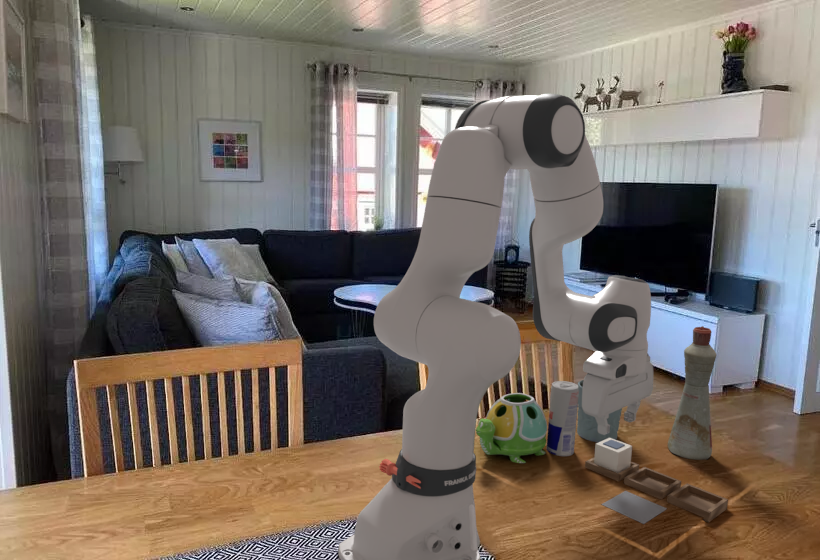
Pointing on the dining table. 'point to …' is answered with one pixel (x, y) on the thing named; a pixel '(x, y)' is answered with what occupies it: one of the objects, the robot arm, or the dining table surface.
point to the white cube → (613, 455)
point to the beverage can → (562, 418)
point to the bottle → (695, 401)
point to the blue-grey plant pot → (595, 422)
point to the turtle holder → (513, 428)
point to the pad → (634, 507)
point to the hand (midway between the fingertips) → (616, 426)
